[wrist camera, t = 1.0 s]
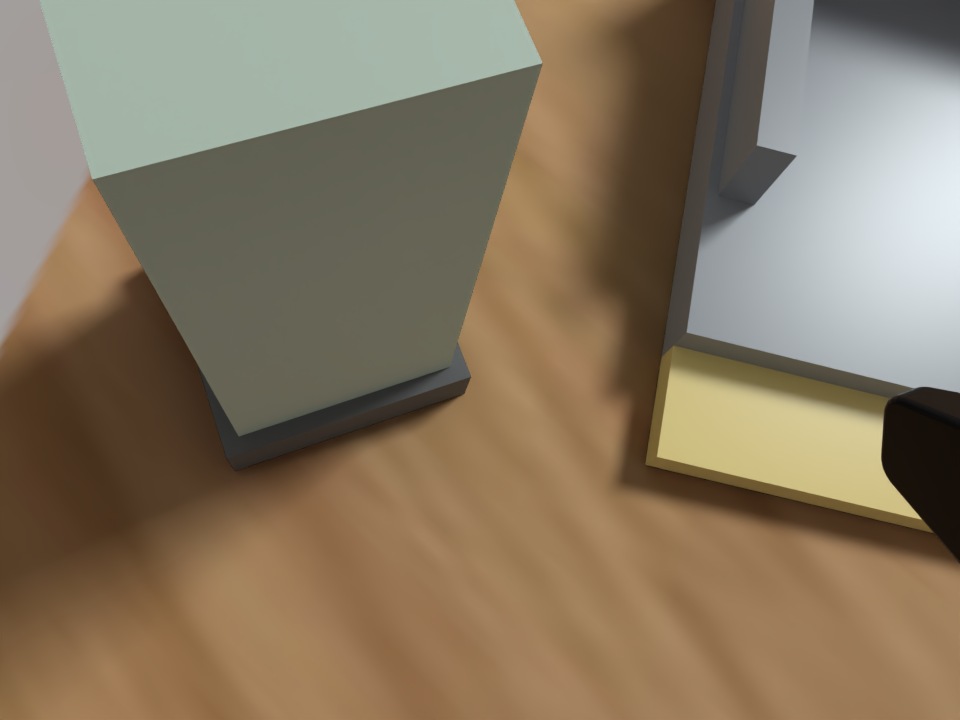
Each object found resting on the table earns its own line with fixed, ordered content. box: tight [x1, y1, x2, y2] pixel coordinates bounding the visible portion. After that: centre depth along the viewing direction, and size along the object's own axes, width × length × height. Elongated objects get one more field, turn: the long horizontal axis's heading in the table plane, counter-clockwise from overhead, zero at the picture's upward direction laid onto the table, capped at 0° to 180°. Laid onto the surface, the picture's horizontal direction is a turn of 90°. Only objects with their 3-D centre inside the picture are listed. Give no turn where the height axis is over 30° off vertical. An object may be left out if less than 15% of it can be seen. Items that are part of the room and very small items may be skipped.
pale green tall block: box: [40, 0, 543, 471], centre depth 17 cm, size 6×6×14 cm
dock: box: [645, 0, 960, 533], centre depth 24 cm, size 17×12×6 cm
